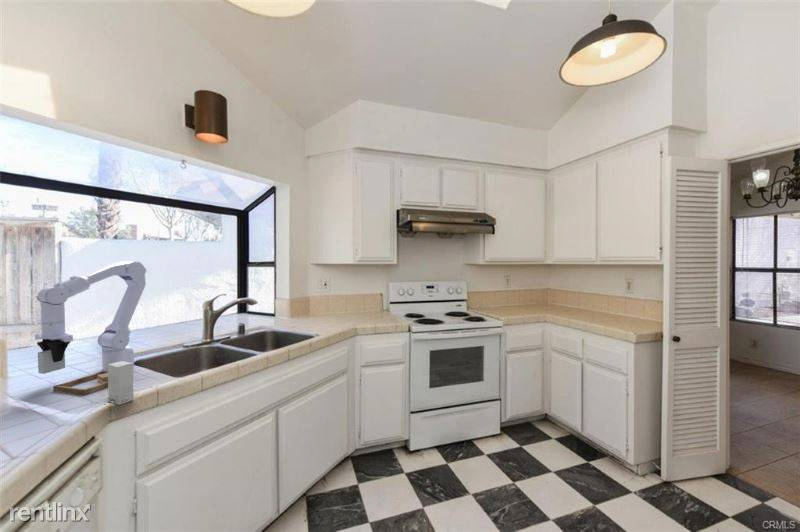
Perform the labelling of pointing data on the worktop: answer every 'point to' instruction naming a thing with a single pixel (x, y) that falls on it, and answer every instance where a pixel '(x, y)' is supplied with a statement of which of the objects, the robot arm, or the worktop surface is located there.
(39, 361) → the pale grey rectangular prism
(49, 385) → the worktop surface
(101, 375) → the offcut short
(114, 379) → the skincare box
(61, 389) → the frame
